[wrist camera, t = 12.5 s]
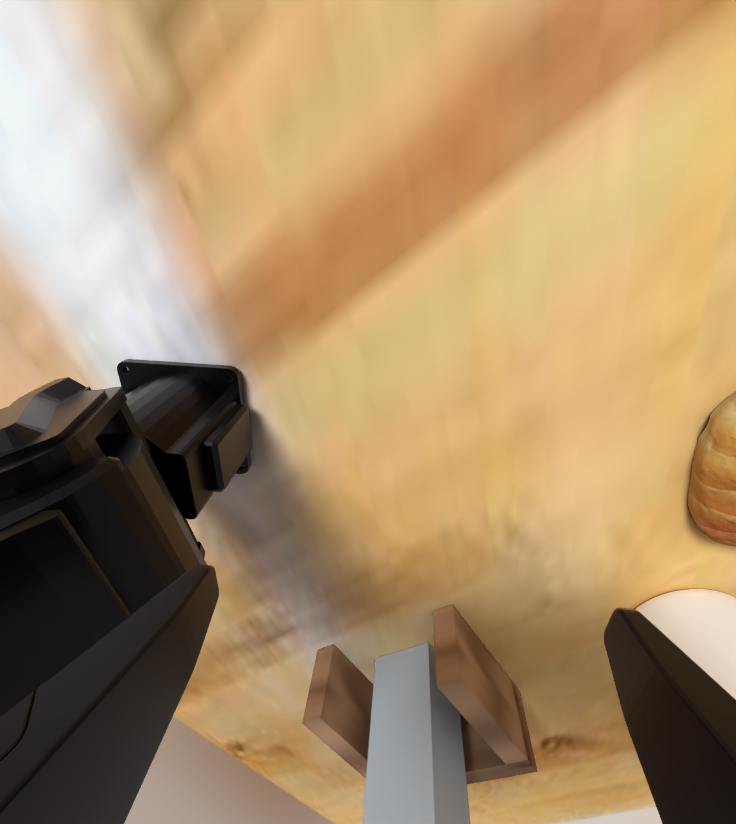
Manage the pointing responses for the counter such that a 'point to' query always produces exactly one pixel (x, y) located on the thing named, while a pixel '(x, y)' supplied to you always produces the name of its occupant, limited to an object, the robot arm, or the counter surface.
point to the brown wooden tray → (456, 678)
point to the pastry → (716, 476)
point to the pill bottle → (699, 629)
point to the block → (414, 745)
